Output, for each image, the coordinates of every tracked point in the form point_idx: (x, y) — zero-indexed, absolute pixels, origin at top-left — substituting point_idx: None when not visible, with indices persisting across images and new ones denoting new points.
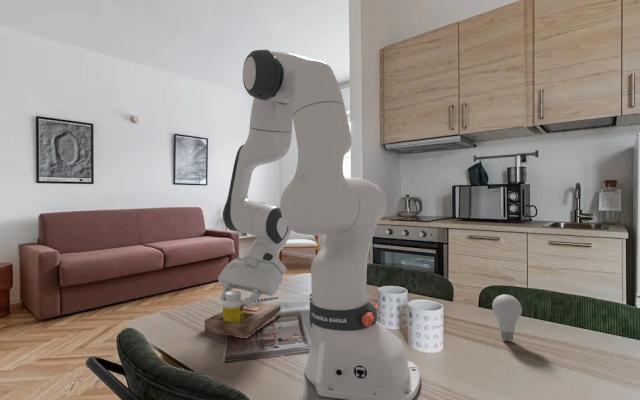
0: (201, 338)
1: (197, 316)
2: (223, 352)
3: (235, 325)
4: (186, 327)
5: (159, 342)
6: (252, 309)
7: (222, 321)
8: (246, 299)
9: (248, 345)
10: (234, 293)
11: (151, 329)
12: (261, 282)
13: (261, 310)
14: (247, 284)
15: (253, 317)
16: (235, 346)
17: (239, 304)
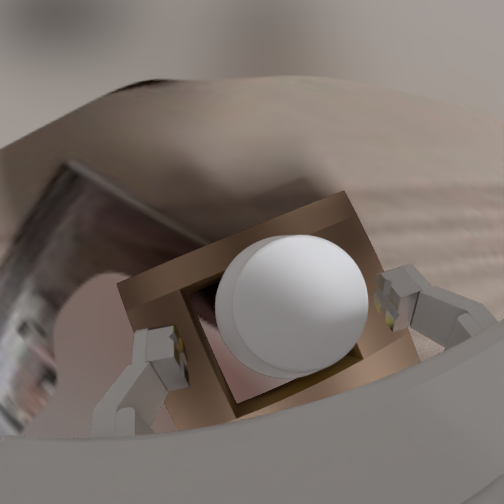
0: (275, 172)
1: (480, 257)
2: (111, 182)
3: (169, 262)
4: (410, 181)
5: (337, 84)
6: None
7: None
8: (156, 349)
9: (87, 269)
10: (268, 298)
11: (443, 113)
12: (47, 488)
13: None
14: (213, 435)
15: (197, 386)
16: (114, 231)
17: (216, 317)
